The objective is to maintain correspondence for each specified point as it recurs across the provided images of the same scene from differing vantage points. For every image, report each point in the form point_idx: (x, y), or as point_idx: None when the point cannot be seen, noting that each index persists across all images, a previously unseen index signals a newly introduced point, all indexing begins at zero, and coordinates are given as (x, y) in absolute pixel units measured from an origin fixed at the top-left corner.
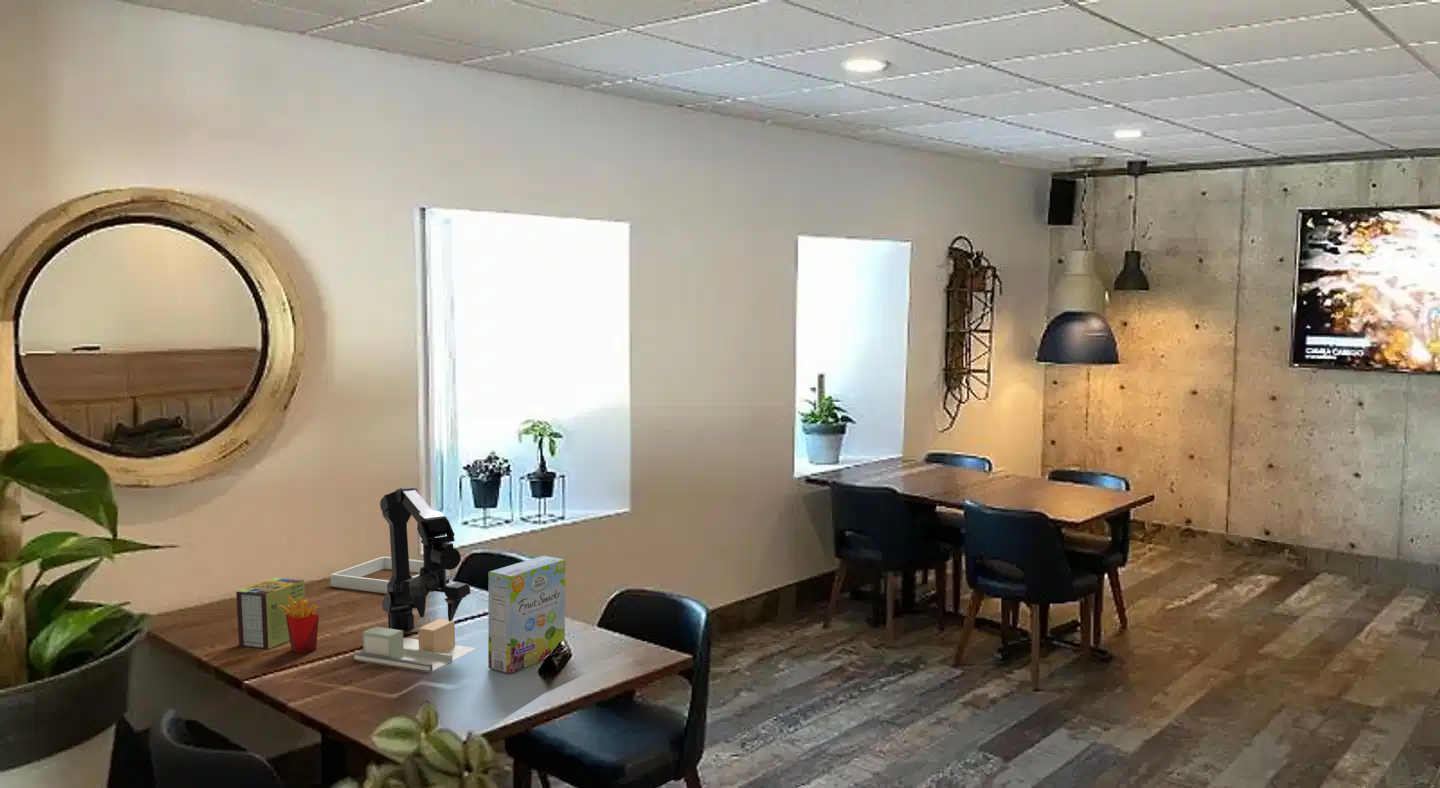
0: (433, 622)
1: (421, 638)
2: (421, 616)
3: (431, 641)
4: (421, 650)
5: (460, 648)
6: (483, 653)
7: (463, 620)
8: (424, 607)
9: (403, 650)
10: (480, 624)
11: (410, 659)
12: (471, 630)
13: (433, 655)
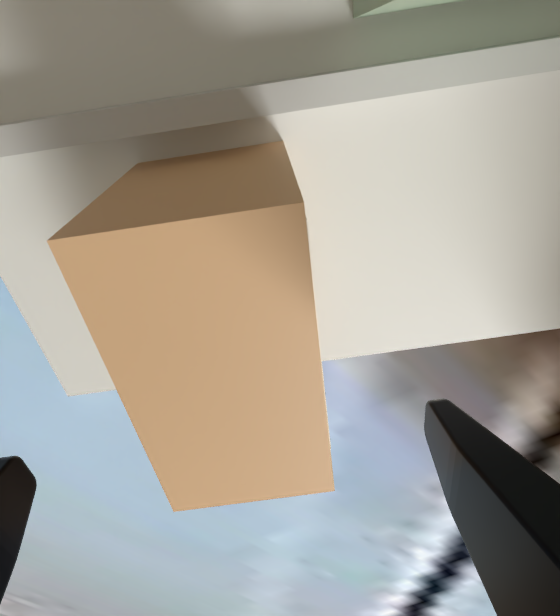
0: (303, 417)
1: (253, 176)
2: (431, 410)
3: (129, 191)
4: (214, 111)
5: None
6: (12, 379)
7: (448, 561)
8: (477, 555)
9: (366, 11)
10: (355, 563)
11: None
12: (338, 521)
13: (73, 113)
